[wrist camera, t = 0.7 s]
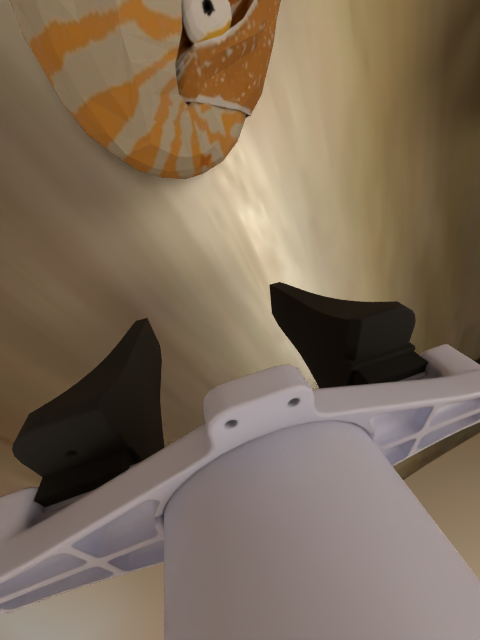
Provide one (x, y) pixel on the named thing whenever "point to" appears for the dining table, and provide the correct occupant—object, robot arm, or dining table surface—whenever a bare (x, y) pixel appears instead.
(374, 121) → the dining table surface
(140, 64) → the nautilus
